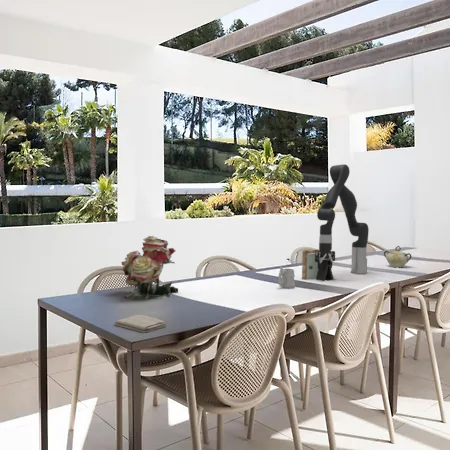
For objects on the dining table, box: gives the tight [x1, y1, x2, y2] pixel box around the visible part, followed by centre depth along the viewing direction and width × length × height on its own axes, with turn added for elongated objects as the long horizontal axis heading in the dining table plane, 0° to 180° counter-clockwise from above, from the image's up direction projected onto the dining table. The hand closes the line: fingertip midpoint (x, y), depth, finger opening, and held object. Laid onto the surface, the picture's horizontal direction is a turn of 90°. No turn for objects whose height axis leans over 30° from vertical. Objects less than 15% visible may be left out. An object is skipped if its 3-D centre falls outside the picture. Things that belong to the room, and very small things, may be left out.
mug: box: [277, 266, 296, 289], centre depth 274 cm, size 8×12×12 cm, turn 133°
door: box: [306, 253, 326, 280], centre depth 305 cm, size 15×3×15 cm, turn 121°
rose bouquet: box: [120, 235, 179, 300], centre depth 249 cm, size 26×29×30 cm
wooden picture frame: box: [301, 248, 328, 280], centre depth 306 cm, size 20×2×18 cm, turn 121°
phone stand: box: [315, 260, 334, 282], centre depth 300 cm, size 9×6×12 cm, turn 124°
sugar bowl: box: [383, 245, 412, 268], centre depth 356 cm, size 20×15×15 cm
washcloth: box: [114, 314, 167, 333], centre depth 193 cm, size 12×18×3 cm, turn 53°
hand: (324, 268), depth 300 cm, fingers open, 8 cm apart
